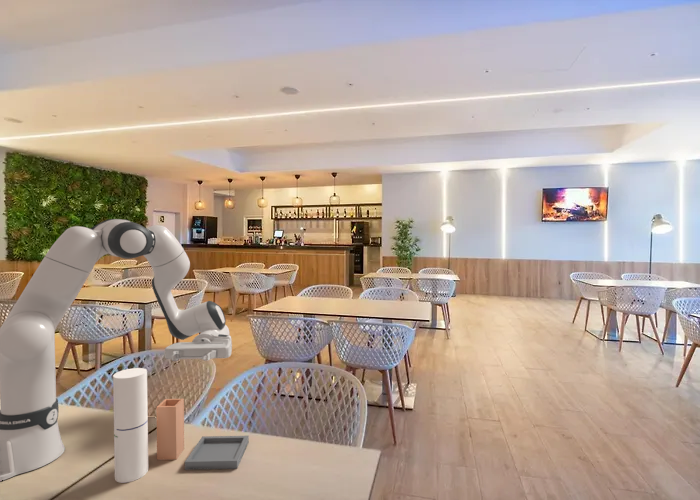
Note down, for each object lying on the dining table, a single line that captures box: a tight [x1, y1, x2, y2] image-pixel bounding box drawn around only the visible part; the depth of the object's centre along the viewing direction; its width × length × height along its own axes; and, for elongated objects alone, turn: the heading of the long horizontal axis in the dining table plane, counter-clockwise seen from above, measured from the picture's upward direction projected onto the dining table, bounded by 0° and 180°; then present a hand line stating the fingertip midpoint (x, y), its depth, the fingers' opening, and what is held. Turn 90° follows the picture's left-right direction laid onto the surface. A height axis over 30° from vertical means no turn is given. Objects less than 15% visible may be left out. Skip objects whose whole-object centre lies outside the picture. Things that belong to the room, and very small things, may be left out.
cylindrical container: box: [112, 367, 149, 483], centre depth 91 cm, size 7×7×25 cm
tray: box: [184, 435, 249, 471], centre depth 99 cm, size 13×12×2 cm
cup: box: [155, 398, 185, 461], centre depth 99 cm, size 5×5×14 cm
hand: (189, 358), depth 112 cm, fingers open, 8 cm apart
